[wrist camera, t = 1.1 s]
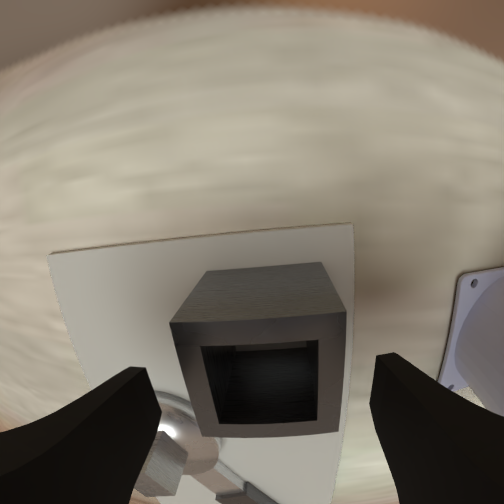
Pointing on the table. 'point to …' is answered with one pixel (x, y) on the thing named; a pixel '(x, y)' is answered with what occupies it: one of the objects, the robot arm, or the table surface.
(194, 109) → the table surface
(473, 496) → the robot arm
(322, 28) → the table surface
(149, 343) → the mat
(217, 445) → the ratchet
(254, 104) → the table surface
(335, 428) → the socket
